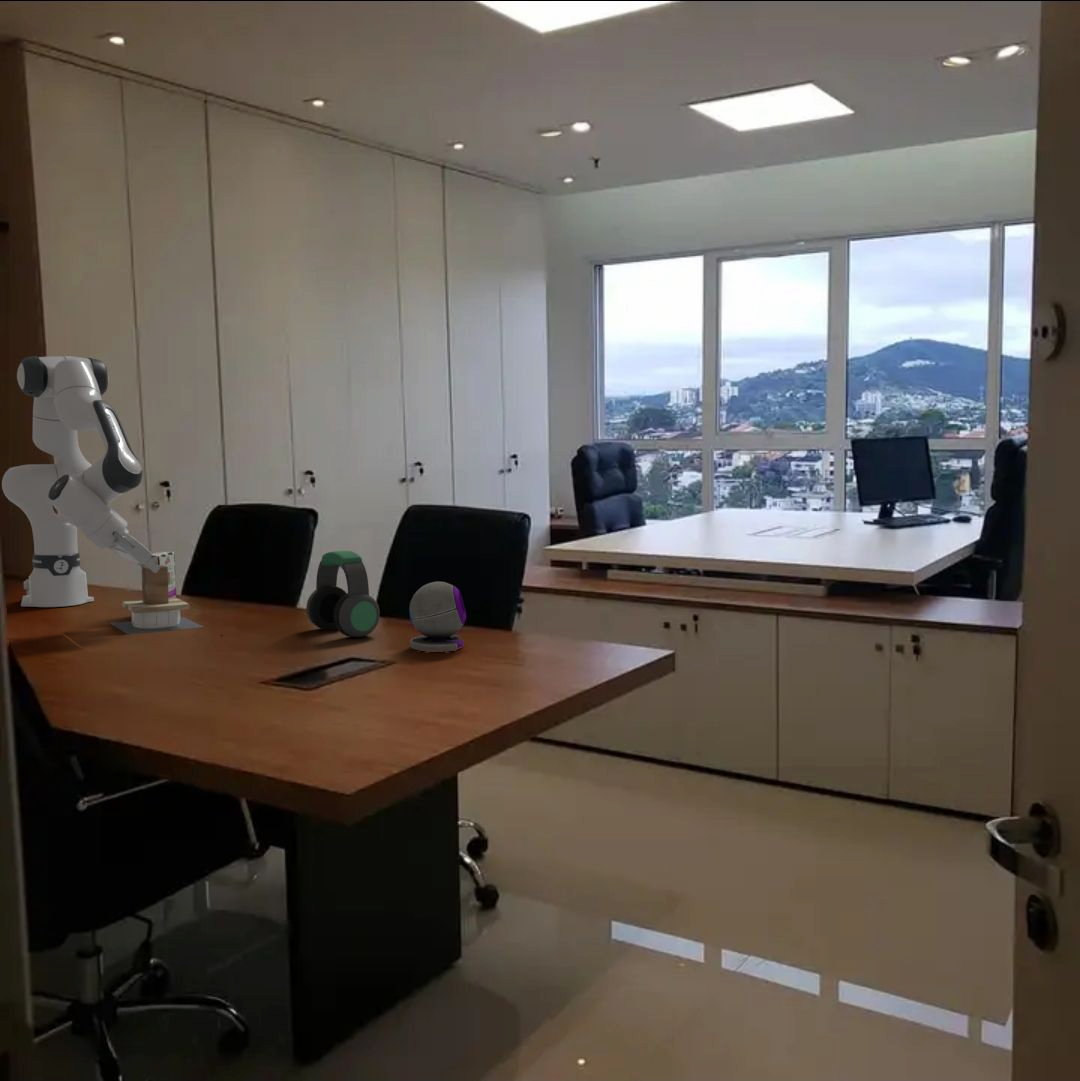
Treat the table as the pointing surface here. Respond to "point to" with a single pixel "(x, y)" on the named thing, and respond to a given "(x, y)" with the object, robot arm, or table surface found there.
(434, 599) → the webcam
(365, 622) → the headphones
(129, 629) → the mat
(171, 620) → the bowl
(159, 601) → the lid
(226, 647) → the table surface
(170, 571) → the candy bar box
